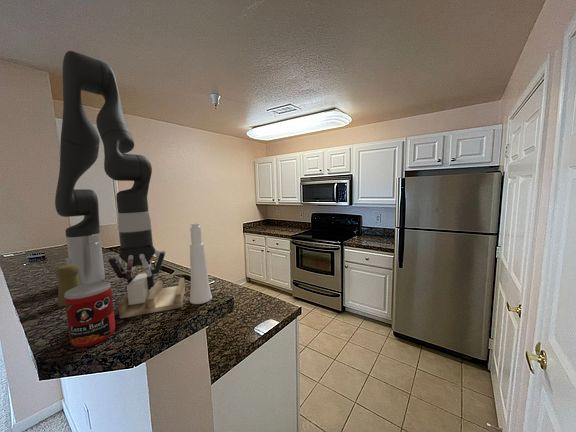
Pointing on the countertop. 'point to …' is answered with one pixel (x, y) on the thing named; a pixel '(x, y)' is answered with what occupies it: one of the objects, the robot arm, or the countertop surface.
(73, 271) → the cork
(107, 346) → the countertop surface
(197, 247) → the cosmetic bottle
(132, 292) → the white angular block
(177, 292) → the rack
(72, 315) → the canned food
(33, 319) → the countertop surface
